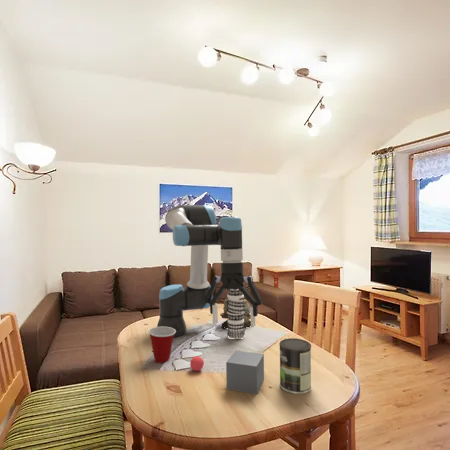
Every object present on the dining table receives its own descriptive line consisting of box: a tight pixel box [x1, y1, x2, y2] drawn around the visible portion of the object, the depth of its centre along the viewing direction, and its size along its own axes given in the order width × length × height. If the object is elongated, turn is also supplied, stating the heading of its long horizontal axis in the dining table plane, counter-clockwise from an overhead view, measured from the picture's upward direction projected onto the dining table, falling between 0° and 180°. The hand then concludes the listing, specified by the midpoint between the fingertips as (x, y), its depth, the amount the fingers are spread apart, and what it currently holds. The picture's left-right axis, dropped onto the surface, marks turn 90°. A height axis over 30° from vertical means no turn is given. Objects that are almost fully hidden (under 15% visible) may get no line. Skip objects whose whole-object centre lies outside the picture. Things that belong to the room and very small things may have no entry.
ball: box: [189, 355, 205, 372], centre depth 117 cm, size 5×5×5 cm
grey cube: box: [225, 350, 265, 395], centre depth 106 cm, size 10×10×9 cm
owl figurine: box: [219, 298, 251, 329], centre depth 168 cm, size 18×12×17 cm, turn 108°
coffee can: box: [278, 337, 312, 395], centre depth 104 cm, size 10×10×14 cm
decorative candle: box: [225, 289, 246, 340], centre depth 151 cm, size 9×9×25 cm
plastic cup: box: [148, 326, 176, 364], centre depth 126 cm, size 11×11×12 cm
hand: (233, 324), depth 106 cm, fingers open, 13 cm apart
